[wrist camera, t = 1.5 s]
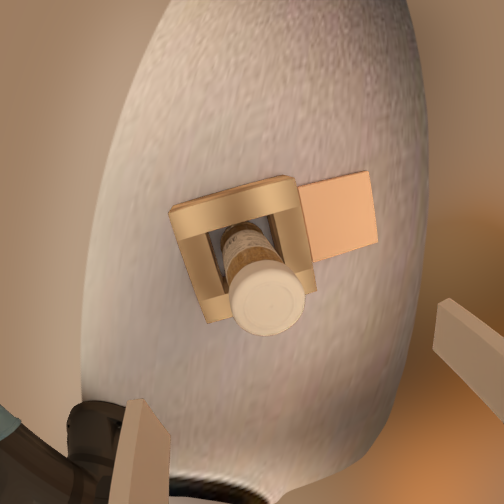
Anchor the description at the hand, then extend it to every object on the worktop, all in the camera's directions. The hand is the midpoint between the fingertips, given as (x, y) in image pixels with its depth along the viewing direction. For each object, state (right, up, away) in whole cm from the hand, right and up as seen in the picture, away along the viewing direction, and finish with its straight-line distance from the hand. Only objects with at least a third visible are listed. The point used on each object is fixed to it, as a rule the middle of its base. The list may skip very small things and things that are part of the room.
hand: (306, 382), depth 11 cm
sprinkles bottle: (-3, +6, +19) cm, 20 cm away
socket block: (-3, +6, +19) cm, 20 cm away
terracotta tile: (+7, +9, +20) cm, 23 cm away
